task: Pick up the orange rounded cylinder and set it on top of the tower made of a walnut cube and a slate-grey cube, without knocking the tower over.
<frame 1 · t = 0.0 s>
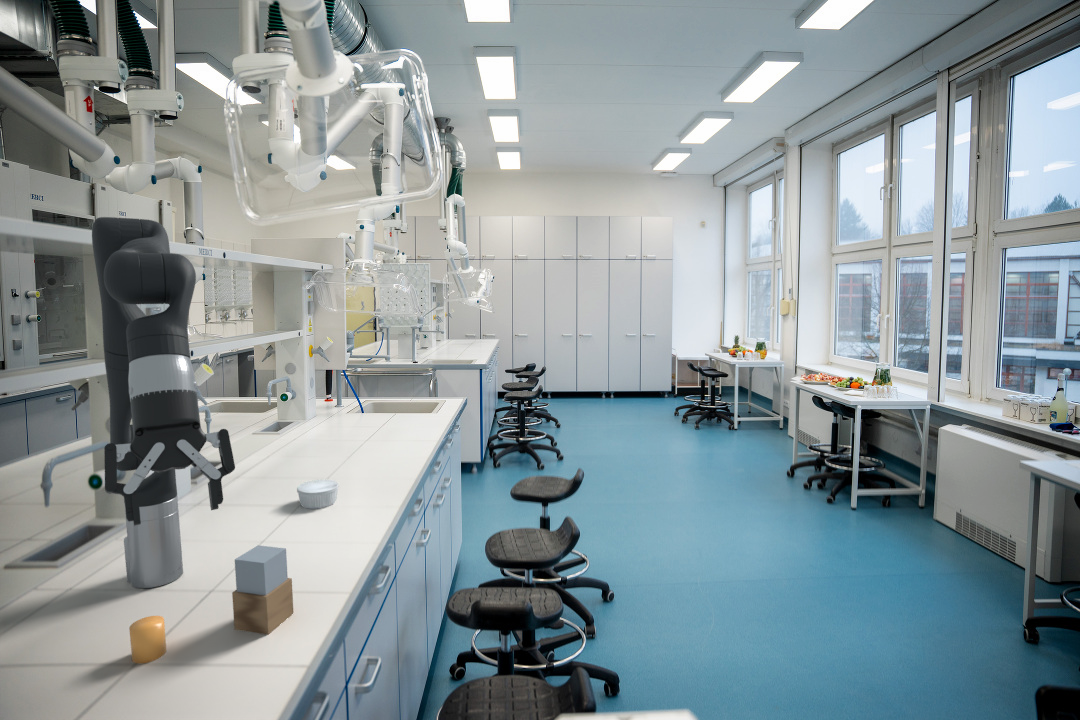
hand: (177, 516, 76), 31 cm above the counter, tool tilted 20°, fingers open, 8 cm apart
ramekin: (318, 504, 169), on the counter
grey top cube: (262, 585, 108), point 7 cm above the counter, touching walnut base cube
orange rounded cylinder: (149, 654, 99), on the counter
walnut base cube: (264, 621, 109), on the counter, touching grey top cube
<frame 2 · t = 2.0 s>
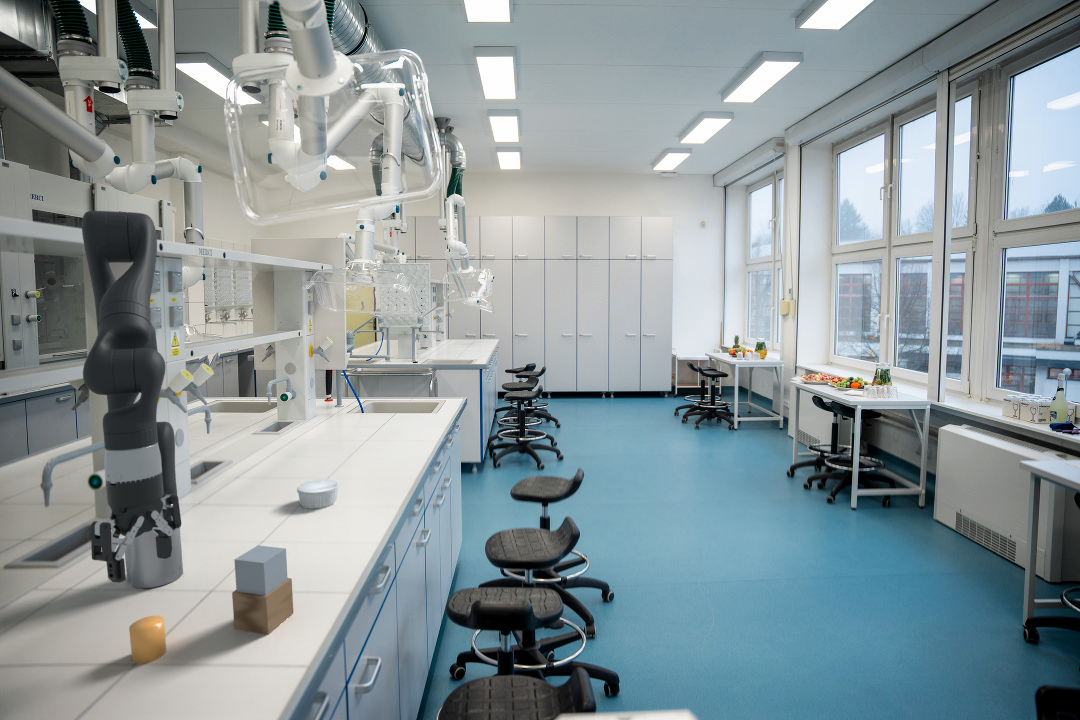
hand: (142, 569, 97), 15 cm above the counter, tool pointing down, fingers open, 8 cm apart
nothing on the counter moved.
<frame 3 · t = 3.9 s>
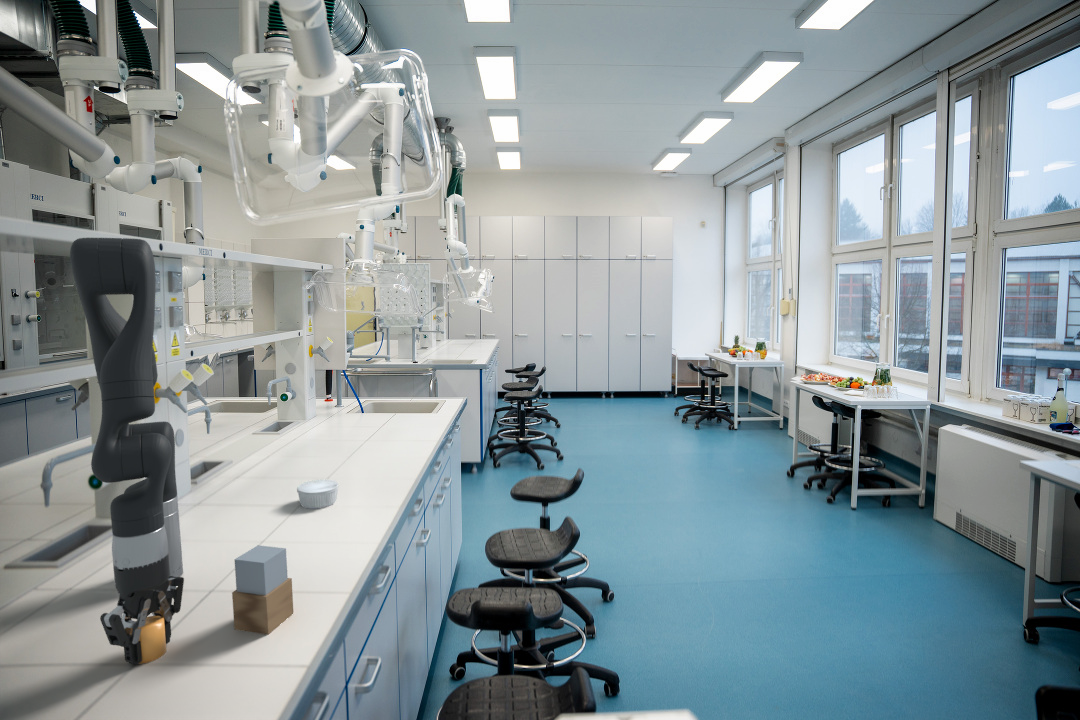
hand: (149, 652, 99), 0 cm above the counter, tool pointing down, fingers closed on orange rounded cylinder, 5 cm apart
orange rounded cylinder: (149, 654, 99), on the counter, touching gripper
everything else where it was.
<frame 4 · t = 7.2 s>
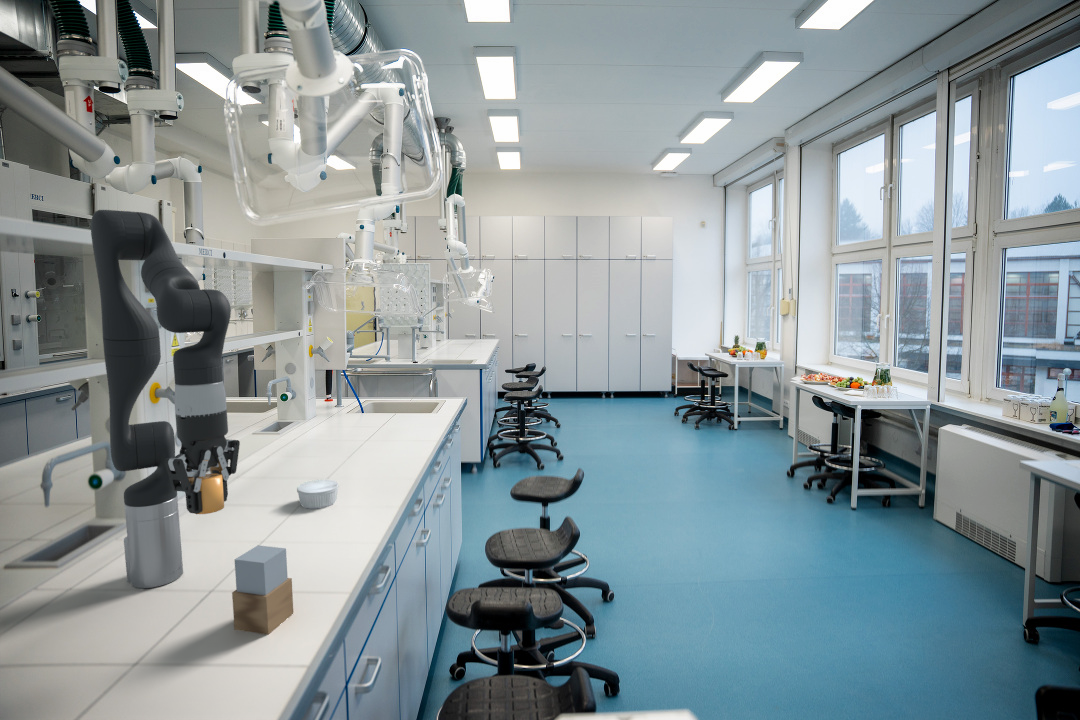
hand: (208, 506, 101), 24 cm above the counter, tool pointing down, fingers closed on orange rounded cylinder, 4 cm apart
orange rounded cylinder: (208, 509, 101), point 23 cm above the counter, touching gripper
everything else where it was.
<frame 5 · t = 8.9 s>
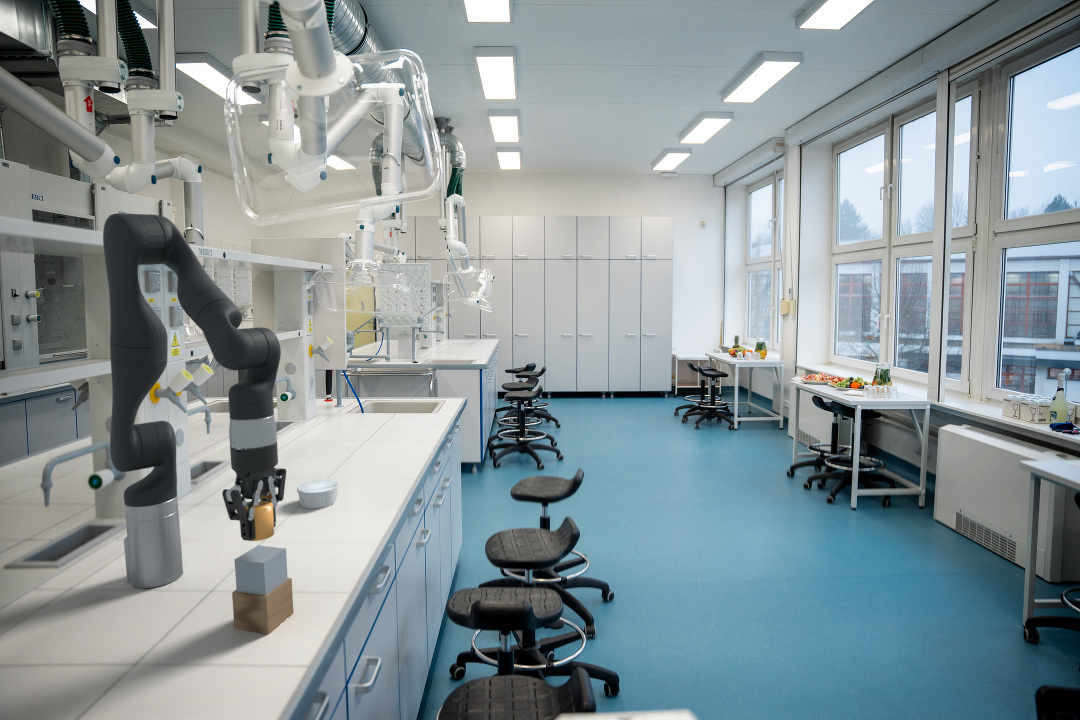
hand: (259, 533, 106), 17 cm above the counter, tool pointing down, fingers closed on orange rounded cylinder, 4 cm apart
orange rounded cylinder: (259, 535, 107), point 16 cm above the counter, touching gripper
everything else where it was.
when the fingers open (15 cm above the counter, at t = 10.1 s): orange rounded cylinder drops 1 cm, resting on grey top cube.
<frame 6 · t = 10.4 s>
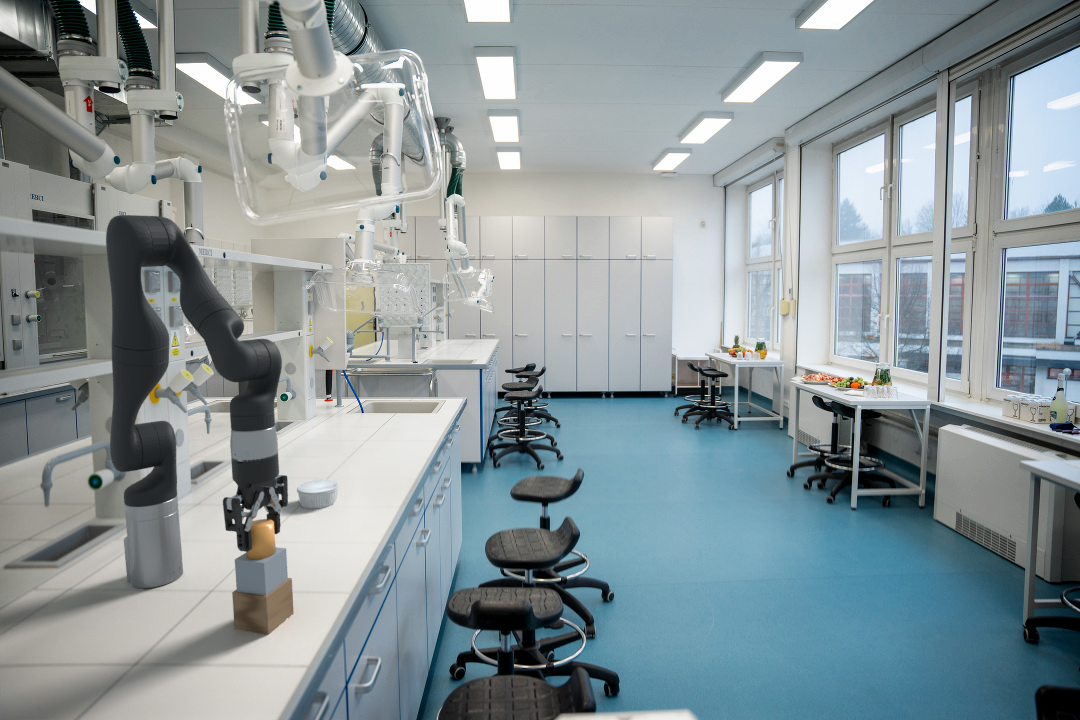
hand: (260, 541, 107), 15 cm above the counter, tool pointing down, fingers open, 7 cm apart
grey top cube: (262, 585, 108), point 7 cm above the counter, touching orange rounded cylinder, walnut base cube
orange rounded cylinder: (261, 553, 107), point 13 cm above the counter, touching grey top cube
everything else where it was.
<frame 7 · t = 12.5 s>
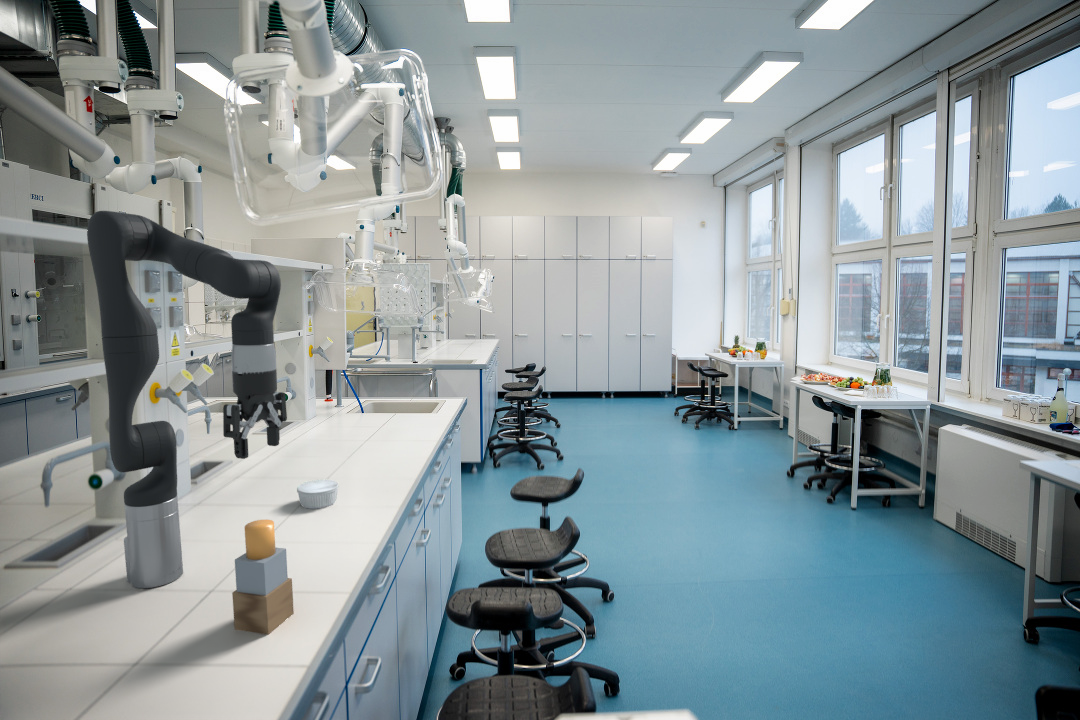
hand: (258, 451, 113), 30 cm above the counter, tool pointing down, fingers open, 8 cm apart
nothing on the counter moved.
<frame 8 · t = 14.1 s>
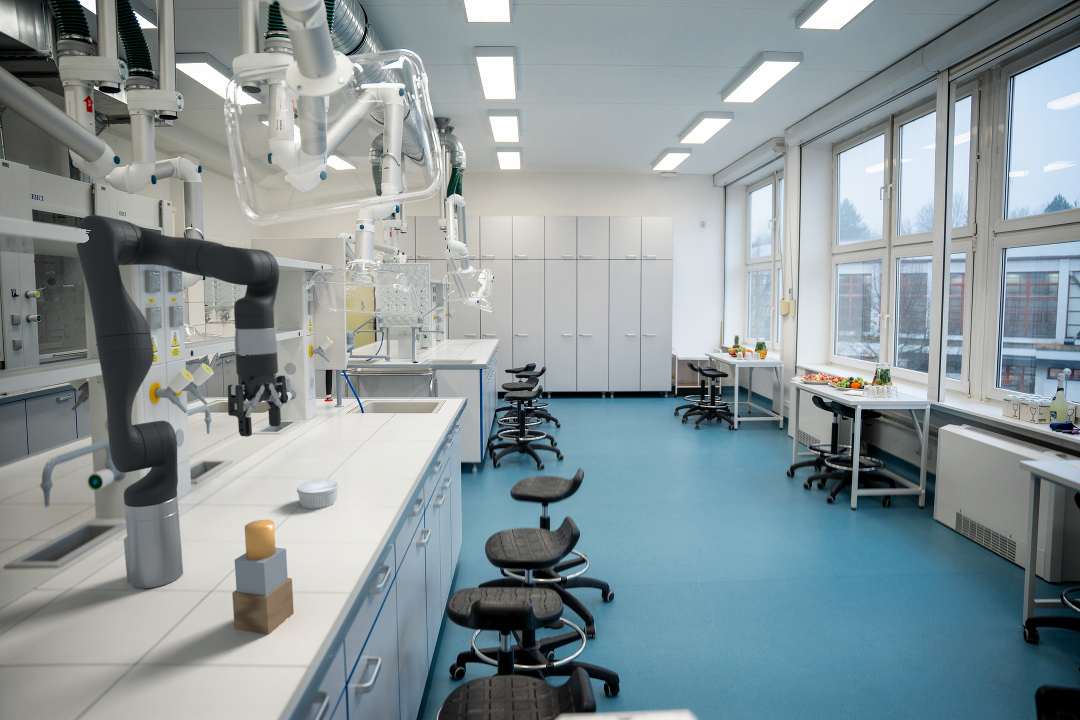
hand: (260, 430, 119), 32 cm above the counter, tool pointing down, fingers open, 8 cm apart
nothing on the counter moved.
at the end: orange rounded cylinder 0.1 cm off-centre on the grey top cube, point 6.0 cm above the grey top cube's base; grey top cube 0.0 cm off-centre on the walnut base cube, point 7.0 cm above the walnut base cube's base; the gripper is holding nothing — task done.
